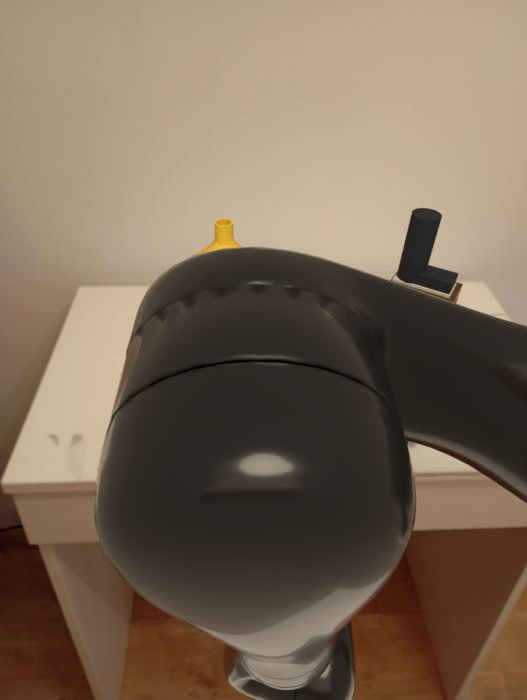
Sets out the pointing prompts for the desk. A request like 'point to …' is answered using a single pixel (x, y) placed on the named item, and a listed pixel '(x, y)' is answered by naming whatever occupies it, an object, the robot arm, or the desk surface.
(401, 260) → the black boot
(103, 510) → the robot arm
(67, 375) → the desk surface
